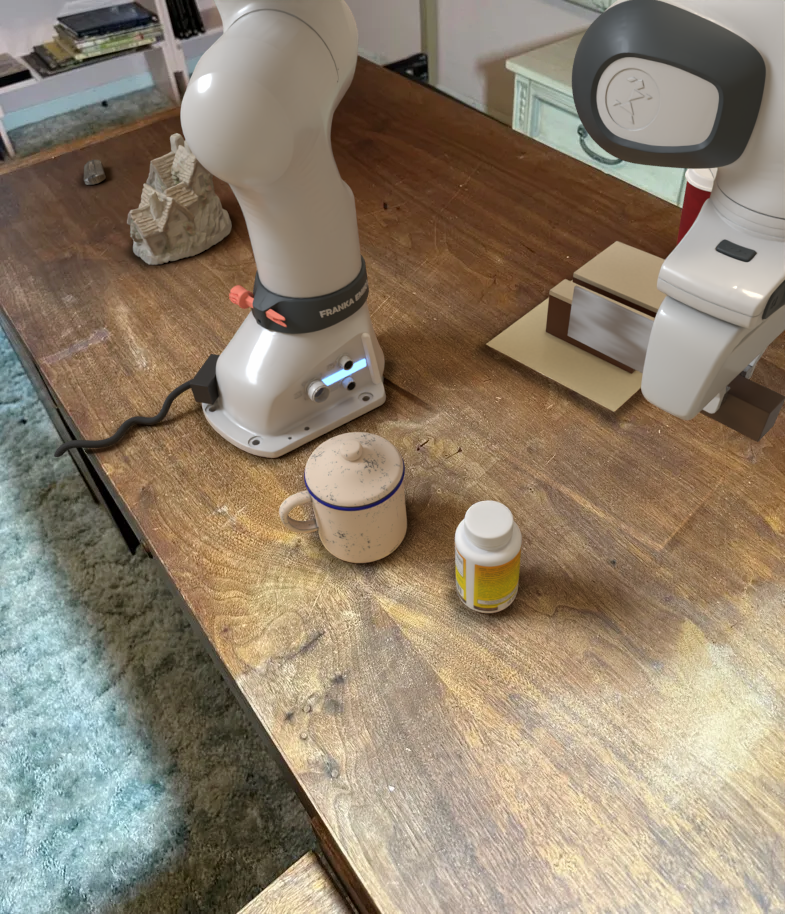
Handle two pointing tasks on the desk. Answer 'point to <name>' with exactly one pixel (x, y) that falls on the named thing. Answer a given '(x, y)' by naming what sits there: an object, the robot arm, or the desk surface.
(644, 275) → the cake
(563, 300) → the tan-topped brown brick
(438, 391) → the desk surface
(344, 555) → the teacup with lid
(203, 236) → the ceramic cottage
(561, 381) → the platter
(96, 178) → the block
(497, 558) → the supplement bottle
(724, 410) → the knife
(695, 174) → the paper cup
